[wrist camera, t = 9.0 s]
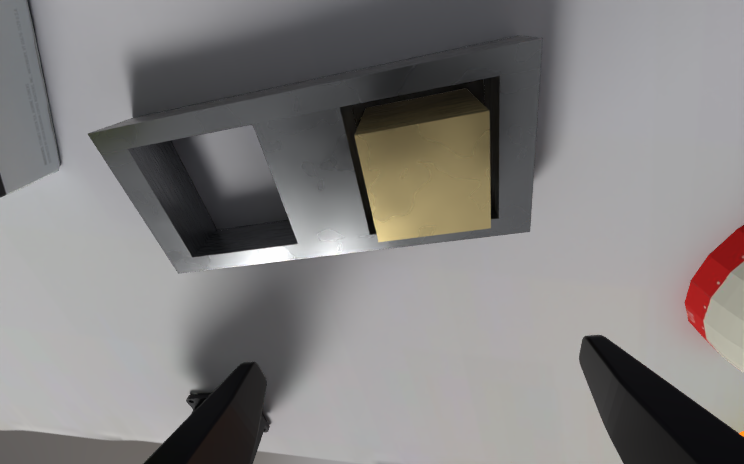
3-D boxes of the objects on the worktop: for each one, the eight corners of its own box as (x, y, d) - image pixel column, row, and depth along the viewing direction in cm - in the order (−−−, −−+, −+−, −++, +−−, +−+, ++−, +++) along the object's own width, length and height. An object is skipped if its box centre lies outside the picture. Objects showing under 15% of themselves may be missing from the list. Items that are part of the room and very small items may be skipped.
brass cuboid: (383, 194, 19) (378, 242, 15) (365, 107, 17) (354, 135, 13) (470, 181, 18) (490, 228, 14) (465, 87, 16) (489, 110, 12)
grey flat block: (203, 245, 22) (178, 273, 20) (131, 118, 18) (87, 133, 15) (512, 203, 19) (530, 231, 16) (517, 35, 15) (542, 38, 12)
